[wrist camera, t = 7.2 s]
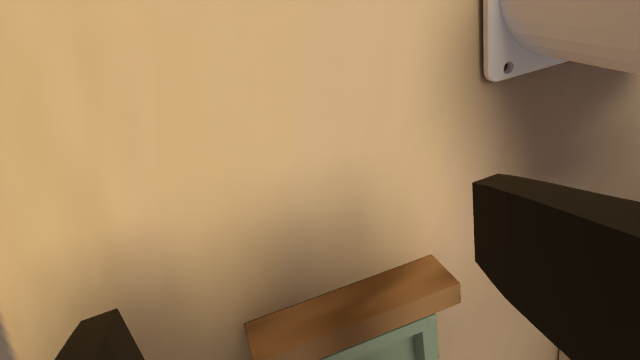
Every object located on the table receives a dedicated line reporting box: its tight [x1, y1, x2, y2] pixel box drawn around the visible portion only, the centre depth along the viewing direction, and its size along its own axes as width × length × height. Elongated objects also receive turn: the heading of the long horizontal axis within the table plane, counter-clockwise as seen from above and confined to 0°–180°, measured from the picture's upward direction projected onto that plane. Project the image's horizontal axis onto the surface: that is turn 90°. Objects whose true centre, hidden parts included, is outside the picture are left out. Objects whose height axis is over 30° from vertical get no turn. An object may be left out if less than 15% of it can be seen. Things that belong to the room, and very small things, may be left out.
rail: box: [244, 255, 461, 360], centre depth 21 cm, size 10×1×2 cm, turn 101°
